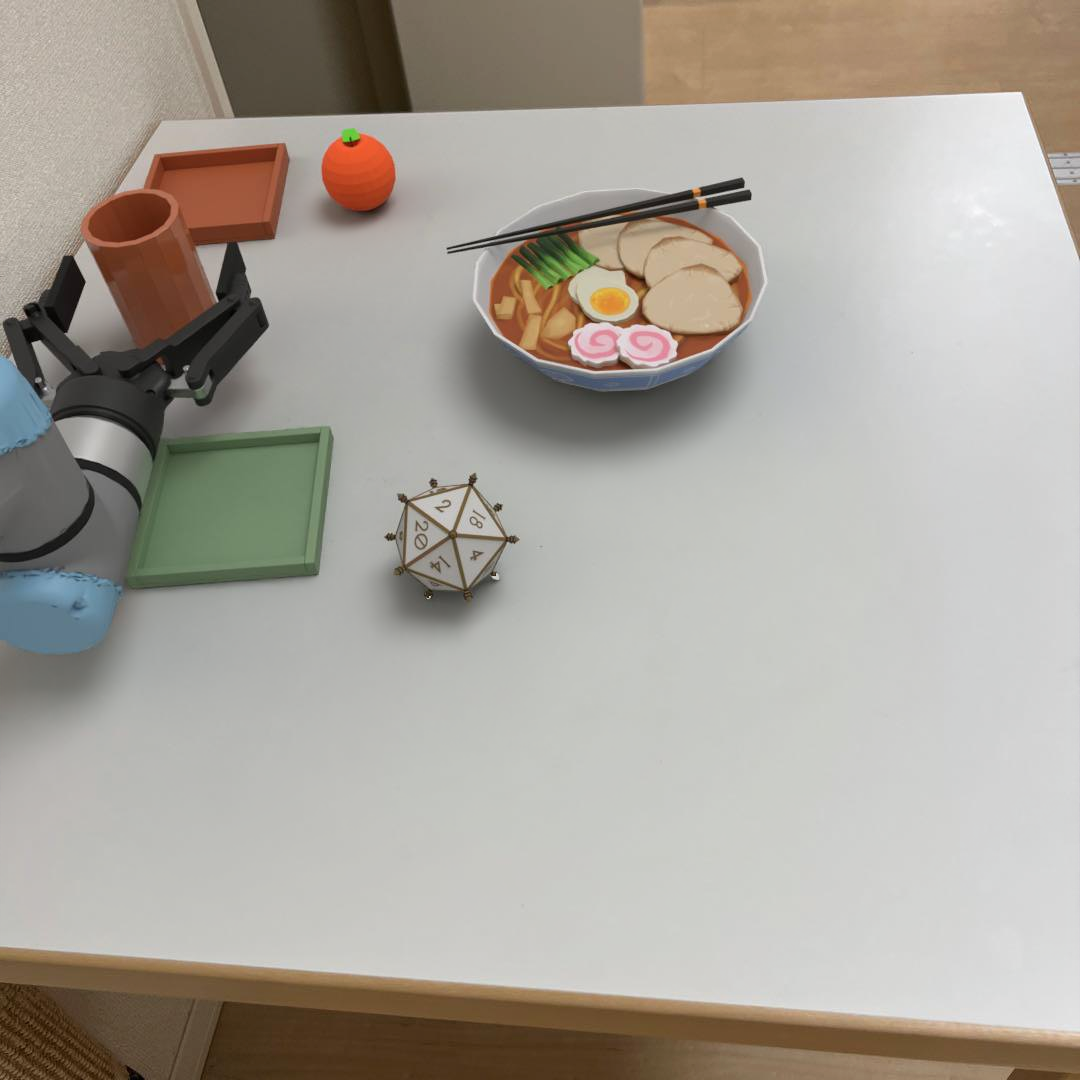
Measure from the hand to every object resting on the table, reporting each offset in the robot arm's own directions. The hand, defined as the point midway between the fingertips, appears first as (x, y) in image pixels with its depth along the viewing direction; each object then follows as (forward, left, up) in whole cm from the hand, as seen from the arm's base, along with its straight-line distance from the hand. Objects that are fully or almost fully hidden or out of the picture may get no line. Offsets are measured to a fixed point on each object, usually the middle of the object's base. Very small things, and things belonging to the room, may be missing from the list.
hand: (155, 261), depth 88 cm
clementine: (+10, +20, -7) cm, 23 cm away
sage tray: (+13, -19, -7) cm, 24 cm away
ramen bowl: (+38, +3, -7) cm, 39 cm away
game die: (+31, -22, -7) cm, 39 cm away
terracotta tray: (-5, +18, -7) cm, 20 cm away
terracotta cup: (0, -1, -7) cm, 7 cm away
